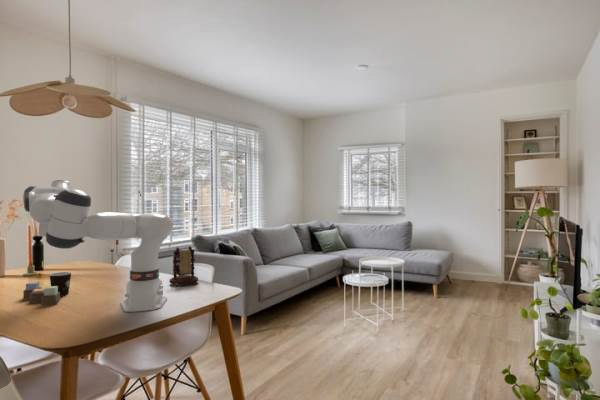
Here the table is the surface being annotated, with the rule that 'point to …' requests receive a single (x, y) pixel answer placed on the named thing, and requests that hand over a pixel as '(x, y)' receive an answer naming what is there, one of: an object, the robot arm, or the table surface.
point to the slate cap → (32, 285)
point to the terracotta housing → (36, 297)
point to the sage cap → (50, 290)
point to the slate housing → (28, 293)
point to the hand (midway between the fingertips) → (61, 244)
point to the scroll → (184, 267)
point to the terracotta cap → (38, 291)
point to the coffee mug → (61, 282)
